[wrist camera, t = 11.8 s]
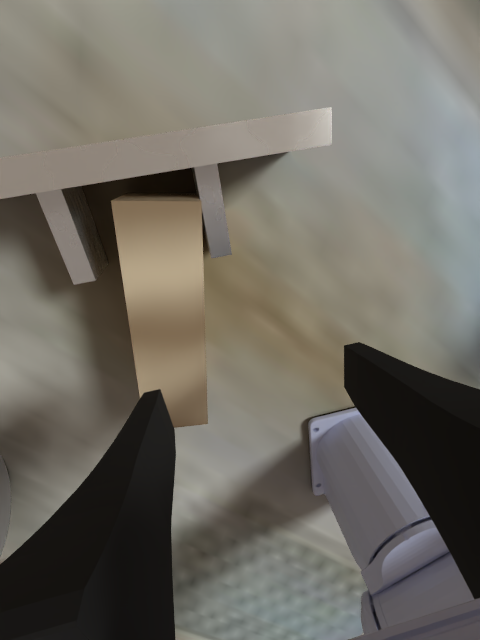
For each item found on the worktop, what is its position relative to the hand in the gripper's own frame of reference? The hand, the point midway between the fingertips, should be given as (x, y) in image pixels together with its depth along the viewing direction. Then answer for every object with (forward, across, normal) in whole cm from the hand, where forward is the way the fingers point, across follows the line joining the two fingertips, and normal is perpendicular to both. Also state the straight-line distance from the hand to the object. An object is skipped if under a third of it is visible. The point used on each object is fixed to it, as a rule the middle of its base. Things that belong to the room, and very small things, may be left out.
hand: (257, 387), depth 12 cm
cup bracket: (+8, +3, -7) cm, 12 cm away
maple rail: (+9, +3, -1) cm, 9 cm away
